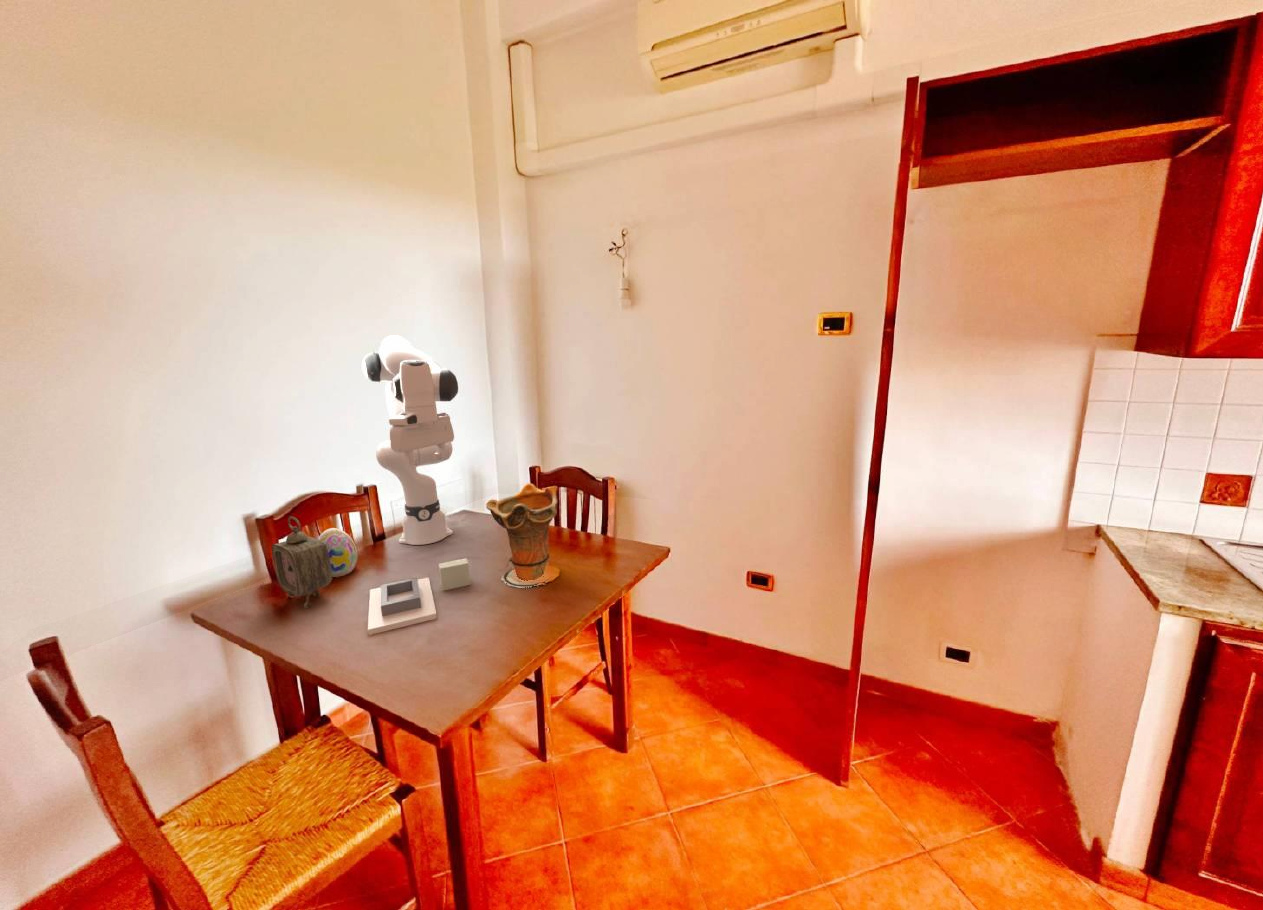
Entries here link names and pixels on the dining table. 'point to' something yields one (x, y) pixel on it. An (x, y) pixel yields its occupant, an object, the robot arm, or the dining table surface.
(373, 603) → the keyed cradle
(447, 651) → the dining table surface
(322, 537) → the decorative egg
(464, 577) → the key block
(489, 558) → the dining table surface
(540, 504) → the decorative vase
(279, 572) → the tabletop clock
